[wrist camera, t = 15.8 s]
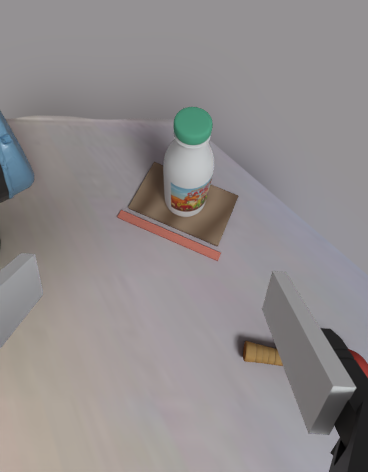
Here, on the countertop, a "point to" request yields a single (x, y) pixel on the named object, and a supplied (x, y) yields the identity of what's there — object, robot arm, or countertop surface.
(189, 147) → the milk bottle
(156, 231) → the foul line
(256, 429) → the countertop surface
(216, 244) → the board
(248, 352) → the kendama
